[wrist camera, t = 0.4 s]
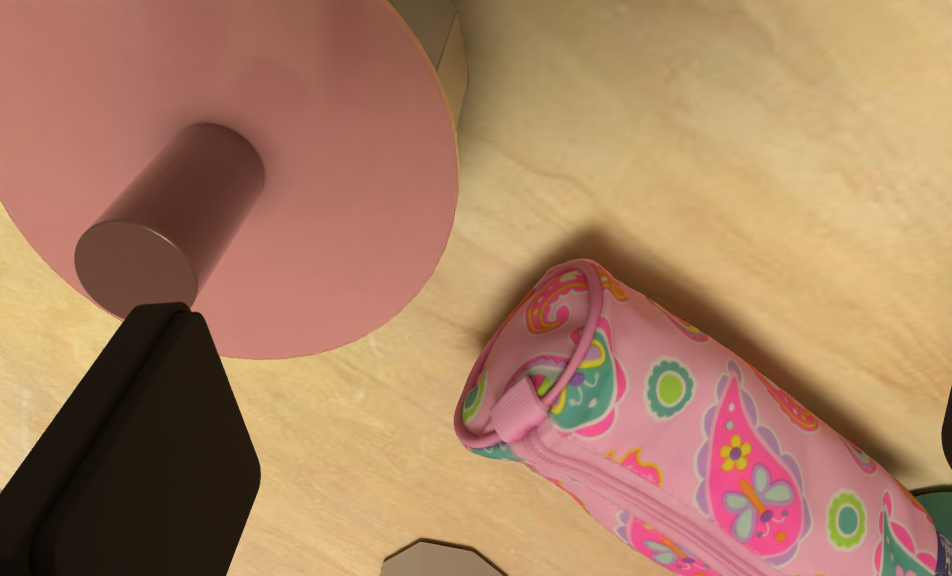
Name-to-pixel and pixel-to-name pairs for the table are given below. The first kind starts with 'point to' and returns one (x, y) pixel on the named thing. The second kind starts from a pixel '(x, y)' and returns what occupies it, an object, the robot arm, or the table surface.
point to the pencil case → (683, 442)
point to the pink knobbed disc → (230, 161)
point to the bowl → (440, 44)
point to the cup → (939, 511)
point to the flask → (437, 562)
